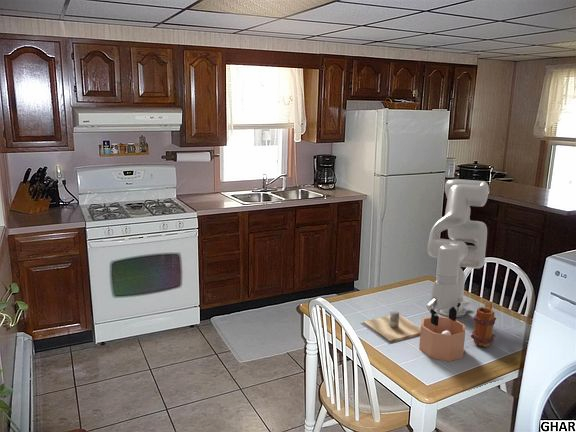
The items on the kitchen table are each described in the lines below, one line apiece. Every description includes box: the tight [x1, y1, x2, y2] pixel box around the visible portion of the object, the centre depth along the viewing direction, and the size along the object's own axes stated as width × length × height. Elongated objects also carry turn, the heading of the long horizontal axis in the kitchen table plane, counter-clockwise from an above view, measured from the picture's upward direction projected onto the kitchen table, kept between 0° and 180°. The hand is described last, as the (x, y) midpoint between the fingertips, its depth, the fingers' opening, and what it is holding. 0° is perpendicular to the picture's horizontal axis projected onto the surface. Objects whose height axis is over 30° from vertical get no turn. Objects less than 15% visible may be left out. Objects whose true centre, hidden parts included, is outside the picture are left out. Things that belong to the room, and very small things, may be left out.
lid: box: [362, 310, 421, 343], centre depth 194 cm, size 18×18×7 cm
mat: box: [360, 321, 420, 345], centre depth 194 cm, size 20×20×1 cm
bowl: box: [418, 315, 466, 362], centre depth 177 cm, size 16×16×10 cm
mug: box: [470, 301, 497, 347], centre depth 183 cm, size 15×8×15 cm, turn 148°
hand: (443, 321), depth 176 cm, fingers open, 8 cm apart
